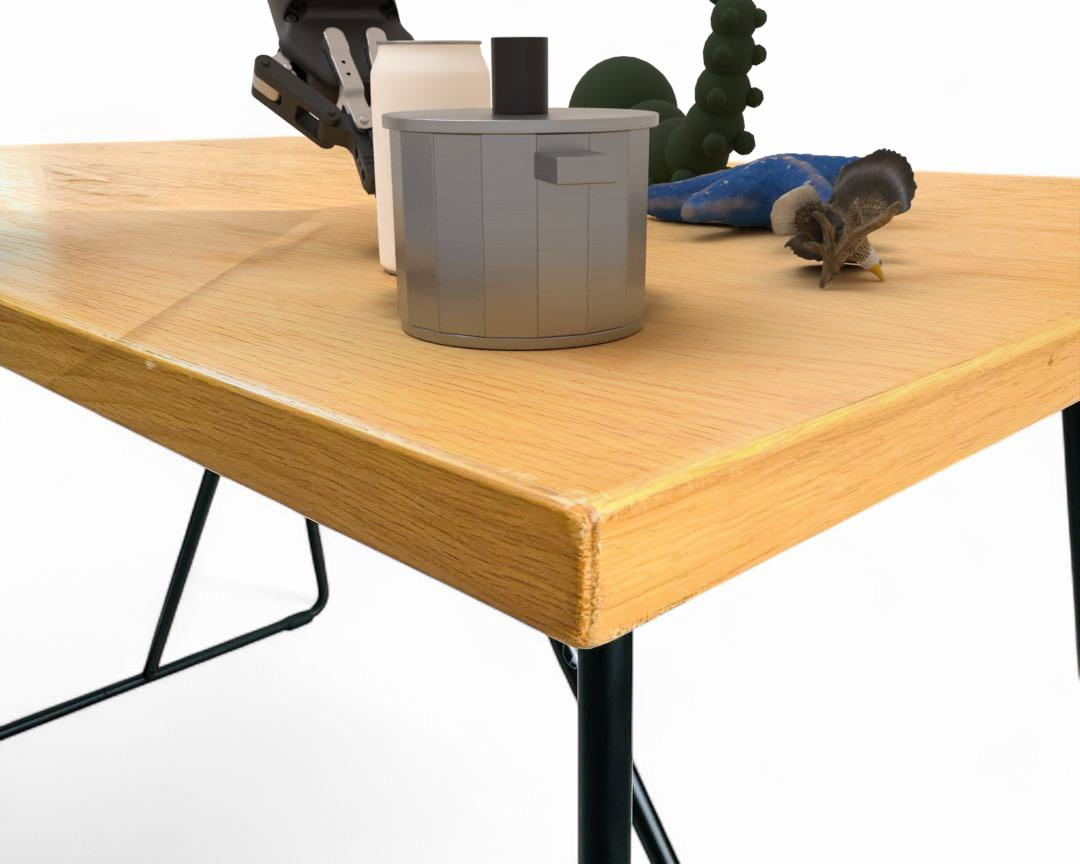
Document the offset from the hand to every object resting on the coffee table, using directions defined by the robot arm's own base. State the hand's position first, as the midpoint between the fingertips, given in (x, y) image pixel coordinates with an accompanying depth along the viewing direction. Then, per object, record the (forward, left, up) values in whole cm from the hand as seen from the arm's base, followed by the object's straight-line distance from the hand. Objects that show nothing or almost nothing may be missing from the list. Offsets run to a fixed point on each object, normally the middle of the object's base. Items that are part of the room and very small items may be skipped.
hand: (393, 193), depth 70 cm
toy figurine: (+17, +35, -4) cm, 39 cm away
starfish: (+23, +16, -4) cm, 28 cm away
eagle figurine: (+25, -5, -4) cm, 26 cm away
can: (+3, -3, -4) cm, 6 cm away
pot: (+8, -17, -4) cm, 20 cm away
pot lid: (+8, -17, +5) cm, 20 cm away
